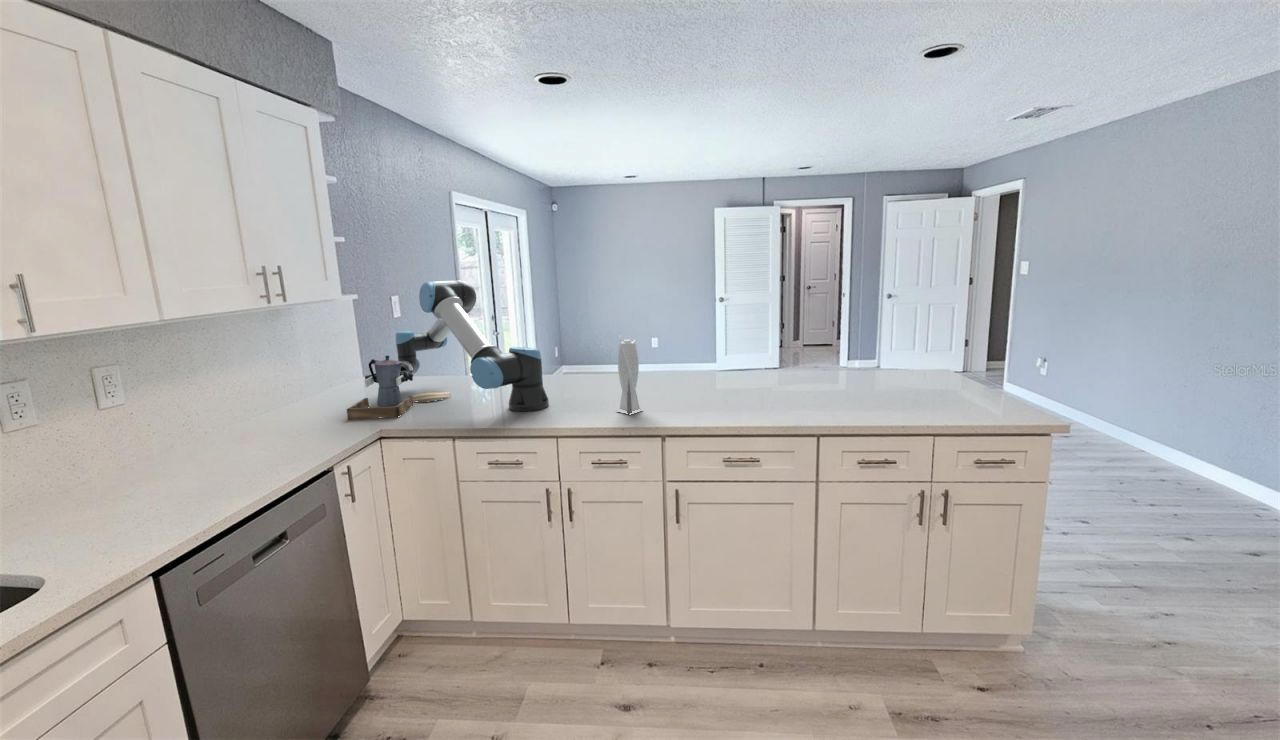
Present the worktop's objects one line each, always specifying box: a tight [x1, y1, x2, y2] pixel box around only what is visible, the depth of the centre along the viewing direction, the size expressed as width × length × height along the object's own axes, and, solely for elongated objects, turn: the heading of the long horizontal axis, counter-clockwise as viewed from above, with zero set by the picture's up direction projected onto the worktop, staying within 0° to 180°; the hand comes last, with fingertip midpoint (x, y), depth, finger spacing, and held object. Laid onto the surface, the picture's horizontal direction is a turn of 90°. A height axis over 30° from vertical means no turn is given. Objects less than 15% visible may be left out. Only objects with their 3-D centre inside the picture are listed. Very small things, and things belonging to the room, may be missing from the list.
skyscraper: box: [617, 335, 641, 414], centre depth 205 cm, size 8×8×28 cm
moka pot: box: [368, 355, 403, 407], centre depth 221 cm, size 10×15×20 cm, turn 79°
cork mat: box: [412, 390, 452, 402], centre depth 236 cm, size 16×16×1 cm
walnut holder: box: [346, 395, 415, 421], centre depth 215 cm, size 17×18×4 cm
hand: (381, 382), depth 217 cm, fingers closed on moka pot, 11 cm apart
